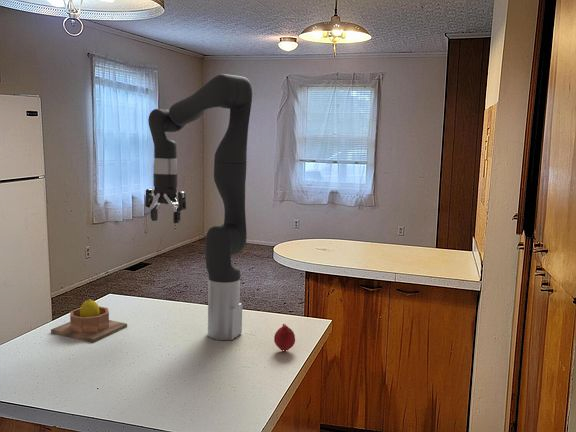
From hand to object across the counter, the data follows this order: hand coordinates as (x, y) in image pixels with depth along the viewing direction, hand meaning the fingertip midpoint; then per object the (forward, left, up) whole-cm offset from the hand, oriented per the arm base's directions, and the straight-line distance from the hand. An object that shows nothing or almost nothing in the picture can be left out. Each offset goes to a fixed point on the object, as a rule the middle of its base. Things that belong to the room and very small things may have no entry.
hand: (165, 221), depth 171 cm
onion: (-49, +13, -30) cm, 59 cm away
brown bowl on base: (+9, +25, -30) cm, 40 cm away
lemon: (+9, +25, -29) cm, 39 cm away
